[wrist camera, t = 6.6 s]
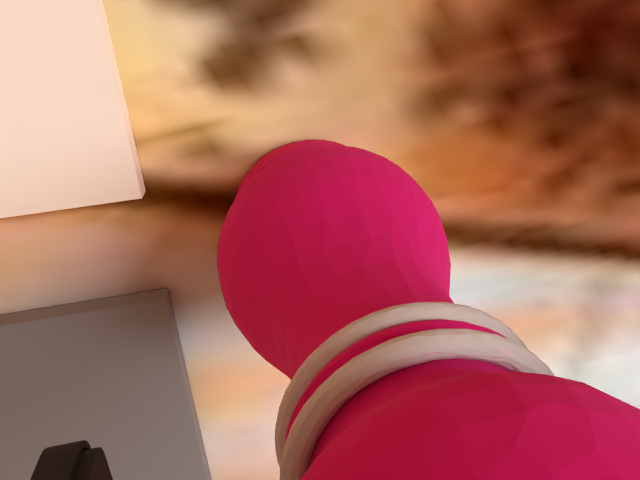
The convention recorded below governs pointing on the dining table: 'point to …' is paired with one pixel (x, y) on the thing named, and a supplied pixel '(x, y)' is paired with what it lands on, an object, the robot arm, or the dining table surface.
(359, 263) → the pepper mill
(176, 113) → the dining table surface
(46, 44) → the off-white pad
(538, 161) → the dining table surface
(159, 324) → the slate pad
